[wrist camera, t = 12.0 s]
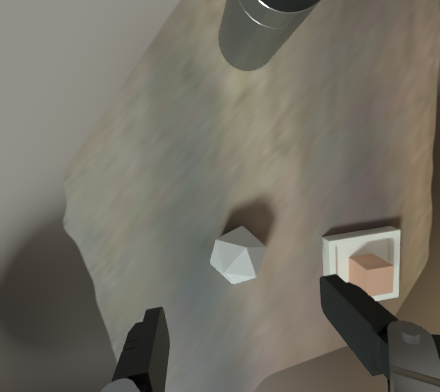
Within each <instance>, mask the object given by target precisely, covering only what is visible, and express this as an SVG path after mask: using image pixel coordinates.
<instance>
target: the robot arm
mask: <svg viewBox="0 0 440 392" xmlns="http://www.w3.org/2000/svg"><path fill="white" fill-rule="evenodd" d="M319 2H320V0H226V4H225V9H224V13H223V17H222V22H221V26H220V30H219V45H220V49H221V52H222V54H223V56H224V57H225V59H226V60H227V61H228V62H229V63H230V64H231V65H232V66H234V67H236V68H238V69H240V70H244V71H251V70H256V69H258V68H260V67H262V66H263V65H265V64H266V63H267V62H268V61H269V60H270V59H271V57H272V56H273V55H274V54H275V53H276V52H277V51H278V49H279V48H280V47H281V46H282V45H283V44H284V42H285V41H286V40H287V39H288V38H289V37H290V35H291V34H292V33H293V32H294V31H295V30H296V29H297V27H298V26H299V25H300V24H301V23H302V22H303V20H304V19H305V18H306V17H307V16H308V15H309V13H310V12H311V11H312V10H313V9H314V7H315V6H316V5H317V4H318V3H319ZM320 295H321V306H322V310H323V312H324V314H325V316H326V317H327V319H328V320H329V321H330V323H331V324H332V325H333V326H334V328H335V329H336V330H337V332H338V333H339V334H340V335H341V337H342V338H343V339H344V341H345V342H346V343H347V344H348V346H349V347H350V348H351V350H352V351H353V352H354V353H355V355H356V356H357V357H358V358H359V360H360V361H361V362H362V364H363V365H364V366H365V368H366V369H367V370H368V371H369V373H370V374H371V375H372V376H375V375H380V374H384V376H385V377H386V378H387V392H440V335H433V334H430V333H429V332H428V331H427V330H426V329H424V328H423V327H421V326H419V325H417V324H414V323H411V322H408V321H399V320H398V319H397V318H396V317H395V316H394V315H392V314H391V313H390V312H389V311H388V310H386V309H385V308H384V307H383V306H382V305H381V304H379V303H378V302H377V301H375V299H373V298H372V297H371V296H370V295H368V293H366V292H365V291H364V290H363V289H362V288H360V287H359V286H357V285H354V284H352V283H350V282H347V283H346V282H345V281H344V280H342V279H341V278H340V277H339V276H338V275H337V274H332V275H327V276H322V277H320ZM169 348H170V341H169V332H168V328H167V323H166V319H165V314H164V310H163V307H158V308H152V309H147V310H146V312H145V316H144V319H143V322H139V323H136V324H135V325H134V326H133V327H132V329H131V330H130V331H129V332H128V335H127V338H126V341H125V344H124V347H123V351H122V353H121V356H120V358H119V361H118V364H117V367H116V370H115V373H114V376H113V379H112V382H111V383H110V384H109V385H107V386H106V387H105V388H104V389H103V390H102V391H101V392H164V391H165V382H166V374H167V365H168V357H169Z"/></svg>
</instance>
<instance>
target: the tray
mask: <svg viewBox="0 0 440 392" xmlns="http://www.w3.org/2000/svg"><path fill="white" fill-rule="evenodd" d="M322 250H323V276H327V275H332V274H337V275H338V276H339V277H340V278H341V279H342V280H344V281H345V282H346V283H347V282H349V257H355V256H361V255H368V254H375V255H376V256H378V257H380V258H382V259H383V260H385V261H387V262H388V263H390V264H392V265H394V280H393V292H388V293H382V294H376V295H371V297H372V298H373V299H375V301H379V300H384V299H390V298H395V297H399V262H400V229H397V228H395V227H392V226H386V227H380V228H374V229H367V230H361V231H355V232H349V233H343V234H336V235H330V236H324V237H322Z"/></svg>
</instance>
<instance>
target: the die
mask: <svg viewBox="0 0 440 392" xmlns="http://www.w3.org/2000/svg"><path fill="white" fill-rule="evenodd" d="M265 250H266V246H265V245H264V244H263V243H261V242H260V241H259V240H258V239H257V238H256V237H255V236H254V235H252V234H251V233H250V232H249V231H248V230H247V229H246V228H245V227H244V226H240V227H238V228H236V229H234V230H232V231H230V232H228V233H226V234H224V235H222V236H221V237H219V238H218V239H216V241H215V245H214V249H213V252H212V256H211V260H210V263H211V264H212V265H213V266H214V267H215V268H216V269H217V270H218V271H219V272H220V273H221V274H222V275H223V276H224V277H225V278H226V279H227V280H228V281H230V282H231V283H232V284H236V283H239V282H243V281H246V280H249V279H252V278H255V277H257V274H258V271H259V268H260V265H261V262H262V259H263V256H264V253H265Z"/></svg>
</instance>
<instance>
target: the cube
mask: <svg viewBox="0 0 440 392" xmlns="http://www.w3.org/2000/svg"><path fill="white" fill-rule="evenodd" d="M393 280H394V265H392V264H390V263H388V262H387V261H385V260H383V259H382V258H380V257H378V256H376V255H375V254H368V255H361V256H355V257H349V282H350V283H352V284H354V285H357V286H359V287H360V288H362V289H363V290H364V291H365V292H366V293H368V295H370V296H371V295H376V294H382V293H388V292H393Z"/></svg>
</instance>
